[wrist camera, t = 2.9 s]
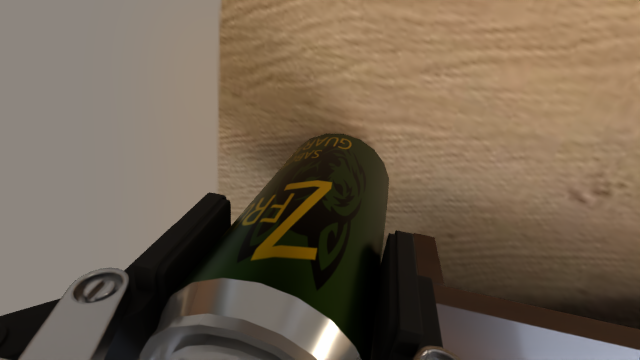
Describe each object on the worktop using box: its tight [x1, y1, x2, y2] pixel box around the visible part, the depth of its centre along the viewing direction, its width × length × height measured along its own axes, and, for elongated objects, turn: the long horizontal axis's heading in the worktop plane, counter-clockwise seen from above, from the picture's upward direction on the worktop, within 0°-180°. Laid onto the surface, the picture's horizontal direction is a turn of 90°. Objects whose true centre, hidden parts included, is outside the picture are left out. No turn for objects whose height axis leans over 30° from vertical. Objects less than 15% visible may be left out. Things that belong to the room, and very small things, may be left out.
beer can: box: [140, 134, 389, 360], centre depth 12 cm, size 5×5×12 cm
